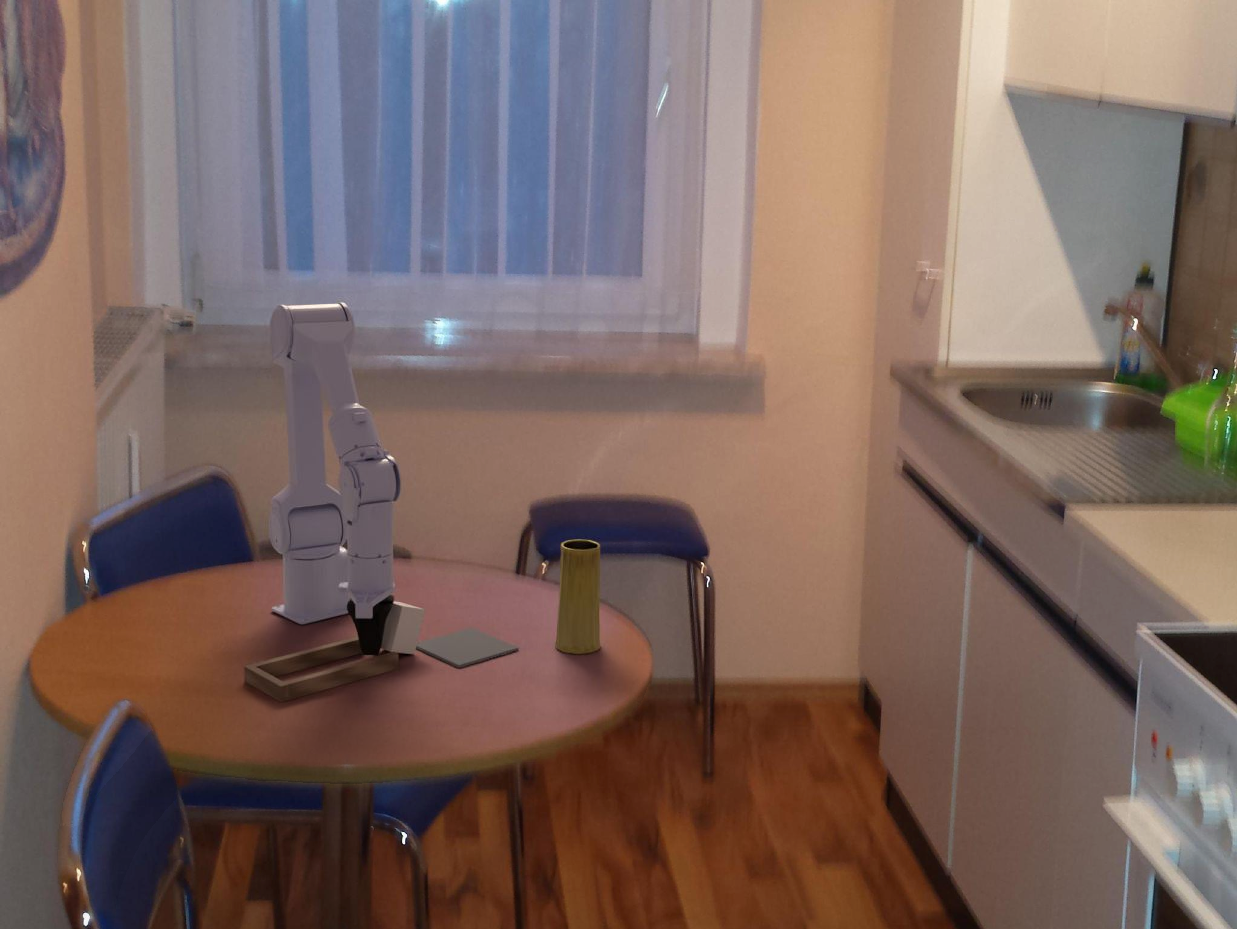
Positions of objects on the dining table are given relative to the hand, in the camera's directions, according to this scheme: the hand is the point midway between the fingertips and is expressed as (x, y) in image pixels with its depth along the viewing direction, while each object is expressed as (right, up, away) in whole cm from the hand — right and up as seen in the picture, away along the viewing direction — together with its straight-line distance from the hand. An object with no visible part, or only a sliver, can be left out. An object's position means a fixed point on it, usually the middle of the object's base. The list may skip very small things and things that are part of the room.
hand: (371, 653), depth 183 cm
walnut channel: (-5, -2, -5) cm, 7 cm away
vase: (+26, 0, +8) cm, 28 cm away
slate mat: (+12, 0, +6) cm, 13 cm away
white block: (+2, 0, +3) cm, 3 cm away
